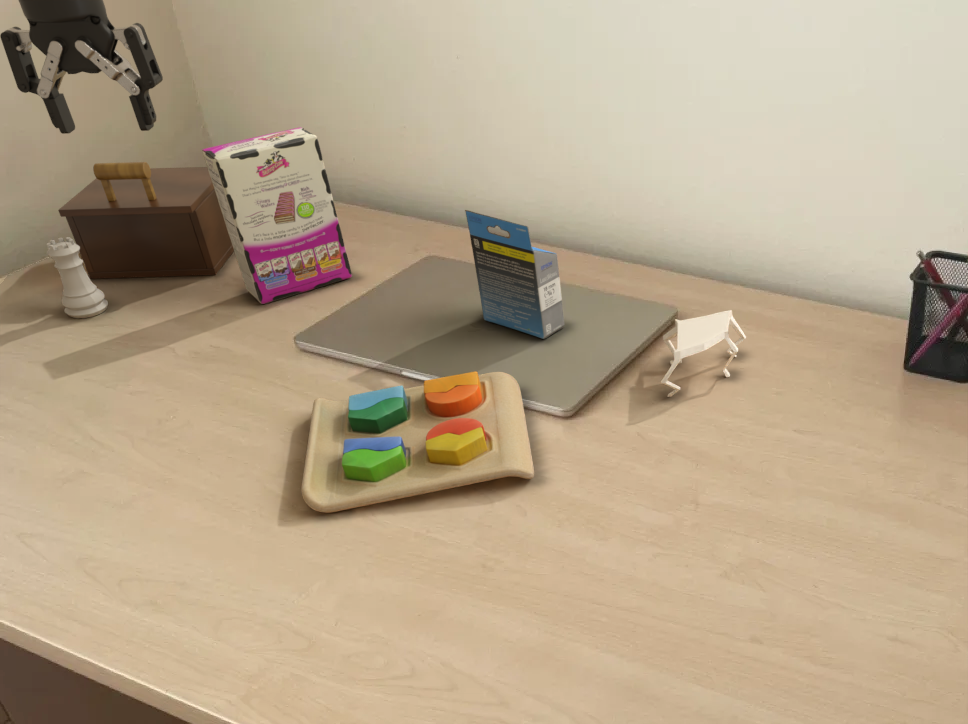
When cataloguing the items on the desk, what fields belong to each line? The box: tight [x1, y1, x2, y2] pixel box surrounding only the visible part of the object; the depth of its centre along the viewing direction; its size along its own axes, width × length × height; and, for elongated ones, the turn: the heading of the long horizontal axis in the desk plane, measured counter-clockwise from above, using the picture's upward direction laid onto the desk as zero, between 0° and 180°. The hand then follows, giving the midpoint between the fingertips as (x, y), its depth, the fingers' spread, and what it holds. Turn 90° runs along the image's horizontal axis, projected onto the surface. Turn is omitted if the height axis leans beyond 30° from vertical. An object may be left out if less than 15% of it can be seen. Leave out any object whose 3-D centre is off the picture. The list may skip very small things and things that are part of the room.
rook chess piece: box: [46, 236, 109, 319], centre depth 115 cm, size 4×4×8 cm
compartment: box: [65, 189, 235, 280], centre depth 127 cm, size 13×15×8 cm
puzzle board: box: [300, 371, 535, 514], centre depth 94 cm, size 18×19×4 cm
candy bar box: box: [201, 126, 353, 305], centre depth 118 cm, size 11×5×16 cm, turn 130°
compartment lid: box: [58, 161, 214, 218], centre depth 123 cm, size 14×15×5 cm
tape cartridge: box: [464, 209, 565, 340], centre depth 110 cm, size 9×4×12 cm, turn 57°
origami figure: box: [660, 309, 747, 398], centre depth 103 cm, size 12×8×5 cm
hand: (108, 130), depth 116 cm, fingers open, 8 cm apart
